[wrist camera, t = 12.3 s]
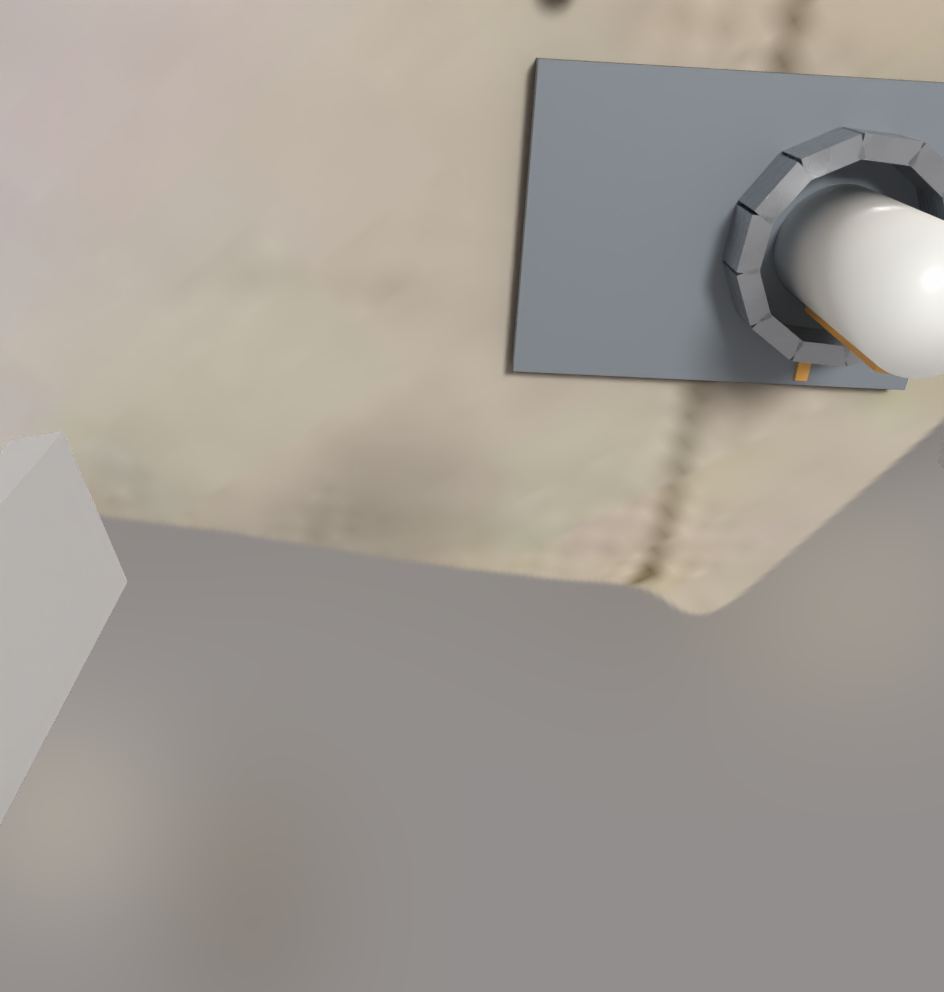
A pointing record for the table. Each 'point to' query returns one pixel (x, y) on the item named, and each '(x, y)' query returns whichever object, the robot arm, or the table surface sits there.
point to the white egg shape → (869, 276)
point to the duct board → (680, 213)
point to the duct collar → (769, 196)
